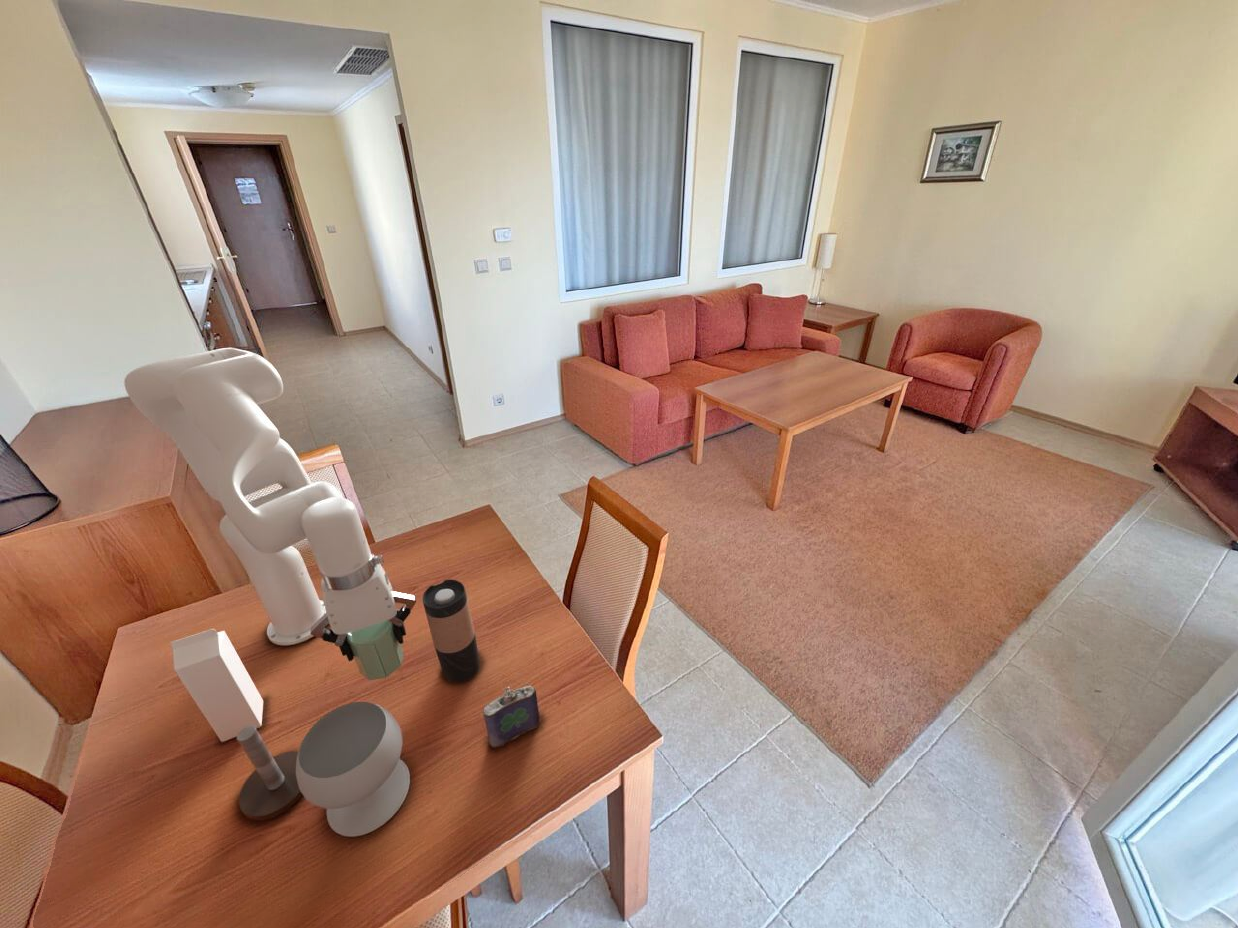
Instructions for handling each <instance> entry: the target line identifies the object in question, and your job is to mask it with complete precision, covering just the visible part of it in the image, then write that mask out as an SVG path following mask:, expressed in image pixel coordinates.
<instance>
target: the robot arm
mask: <svg viewBox="0 0 1238 928" xmlns="http://www.w3.org/2000/svg"><path fill="white" fill-rule="evenodd" d="M123 383H124V388H125V391H126V394H127V395H128V398H129V399H130V400H131V402H132V404H133V405H134V406H135V407H136V408H137V410H138V411H139V412H140V413H141V414H142V415H143V416H144V417H145V418H146V419H148V420H149V422H151V423H152V424H153V425H154V426H156V427H157V428H158V429H159V430H160V431H162V432H163V433H165V434H166V436H167V437H169V438H170V439H171V440H172V441H173V443H174V444H175V445H176V447H177V449H178V450H179V452H180V454H181V455H182V457H183V458H184V461H185V462H186V463H187V465H188V467H189V468H190V469H191V471H192V473H193V475H194V476H195V478H196V479H197V481H198V482H199V484H200V486H201V487H202V489H203V490H204V491H205V493H206V494H207V495H208V496H209V497H210V498H211V499H213V500H214V501H216V502H219V503H220V505H221V507H222V510H223V511H224V513H225V515H224V516H223V517H222V519H220V522H219V529H218V530H219V532H220V535H221V537H222V538H223V540H224V541H225V542H226V544H227V545H228V547H229V548H230V549H231V551H233V553H234V554H235V556H236V557H237V558H238V560H239V562H240V563H241V565H242V567H243V568H244V570H245V572H246V574H247V576H248V578H249V581H250V582H251V584H252V587H253V588H254V590H255V592H256V594H257V597H258V599H259V601H260V603H261V604H262V607H263V608H264V611H265V613H266V615H267V617H268V620H269V624H268V626H267V629H266V635H267V638H268V639H269V641H270V642H271V643H273V644H275V645H278V646H291V645H297V644H300V643H303V642H306V641H308V640H310V639H312V638H313V637H316V638H319V639H321V640H322V641H323V642H328V643H332V644H334V645H335V647H339V650H340V652H341V655H342V656H343V657H344V656H346V658H347V660H348V662H351V661H353V660H355V659H354V656H353V654H352V651H351V649H350V646H349V644H348V641H347V633H350V632H353V631H356V630H360V629H363V628H366V627H369V626H372V625H375V624H378V623H381V622H384V621H387V620H388V621H390V622H391V623H393V624H394V629H395V632H396V636H397V639H398V642H399V644H401V645H403V644H404V643H405V642H404V636H407V630H406V626H405V620H407V618H408V617H409V616H410V614H411V611H412V609H413V608H414V607H415V605H416V602H417V599H416V596H415V595H414V594H409V593H408V594H407V593H402V592H398V591H394V589H393V586H392V584H391V581H390V579H389V577H388V575H387V573H386V571H385V569H384V567H383V566H382V565H381V564H383V563H385V562H384V556H383V554H379V555H377V554H376V555H375V553H372V550H371V549H370V545H369V543H368V539H367V536H366V534H365V530H364V528H363V524H362V521H361V518H360V515H359V512H358V509H357V506H356V504H355V503H354V502H352V500H350V499H348V498H345V497H344V495H343V494H342V492H341V490H340V489H339V488H338V487H337V486H336V485H334V484H332V483H330V482H328V481H325V480H319V481H318V480H317V481H314V482H312V481H311V478H310V477H309V475H308V474H307V473H308V472H307V471H306V470H305V468H304V466H303V464H302V463H301V461H300V459H299V457H298V456H297V454H296V452H295V451H294V449H293V448H292V447H291V446H290V444H289V443H287V441H285V440H284V439H282V438H281V437H280V435H281V434H280V431H279V429H278V428H277V427H276V425H274V423H273V422H272V420H271V419H270V418H269V417H268V416H267V414H266V413H265V412H264V411H263V410H262V408H260V406H259V405H261V404H264V403H268V402H271V401H274V400H277V399H278V398H281V396H282V394H283V392H284V382H283V379H282V378H281V375H280V374H279V372H278V370H277V369H276V368H275V367H274V365H273V364H272V363H271V362H269V361H268V360H267V359H266V358H265V357H263V356H261V355H260V354H257V353H255V352H252V351H248V350H245V349H244V350H243V349H240V348H235V347H223V348H217V349H211V350H207V351H202V352H197V353H193V354H189V355H183V356H178V357H173V358H168V359H164V360H159V361H155V362H150V363H148V364H145V365H142V366H139V367H137V368H135V369H133V370H132V371H130V372H128V374H126V376H125V377H124V381H123ZM275 484H277V485H279V486H280V487H281V488H279V489H276V490H274V491H272V492H270V493H268V494H266V495H262V496H260V497H258V498H255V499H253V500H251V501H248V500H247V498H246V496H250V495H251V494H253V493H256V492H259V491H261V490H263V489H265V488H268V487H271V486H273V485H275ZM305 539H306V540H307V542H308V545H309V548H310V550H311V552H312V554H313V558H314V561H315V562H316V565H317V568H318V570H319V572H320V575H321V578H322V579H321V582H320V589H321V596H322V599H320V598H319V595H318V593H317V590H316V588H315V586H314V583H313V581H312V578H311V576H310V572H309V571H308V568H307V566H306V564H305V561H304V559H303V557H302V555H301V553H300V551H299V550H298V549H297V548H296V547H294V546H293V545H295V544H297V543H299V542H301V541H303V540H305ZM397 603H398V604H403V605H402V606H401V607H400V609H398V608H397ZM328 625H329V626H330V628H326V627H327V626H328Z"/></svg>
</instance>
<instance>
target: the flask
mask: <svg viewBox="0 0 1238 928" xmlns="http://www.w3.org/2000/svg"><path fill="white" fill-rule="evenodd" d="M510 688H511V687H510V686H506V687H504V689H502V690H501V691H502V692H503V695H501V696H499V697H498V698H496V699H494V700H492V701H491V702H490V703H488V704H487V705H485V706H484V708H483V710H482V714H483V719H484V722H485V727H486V732H487V736H488V742H489V745H490V746H491V747H492V748H499V747H503V746H505V744H506V743H508V742H510V741H513V740H515V739H517V738H518V737H519V736H520V735H521V734H523V735H524V734H525V733H526V732H529V731H531V730H533V729H536V728H537V727H538V726H539V724H540V723H541V721H540V712H539V704H538V695H537V690H536V689H535V687H534V686H532V685H525V686H523V687H520V688H516V689H510ZM504 690H505V691H504Z"/></svg>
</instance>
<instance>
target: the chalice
mask: <svg viewBox="0 0 1238 928" xmlns="http://www.w3.org/2000/svg"><path fill="white" fill-rule="evenodd" d="M402 748H403V733H402V729H401V727H400V725H399V722H398V721H397V719H396V718H395V717H394V716H393V715H392V713H390V711H389V710H387V709H386V708H385V707H383V706H381V705H380V704H377V703H375V702H370V701H354V702H350V703H346V704H343V705H340V706H338V707H336V708H334V709H333V710H331V711H329V712H327V713H326V714H325V715H324V716H322V717H321V718H319V719H318V720H317V721H316V722H315V723H314V724H313V725H312V726H311V728H310V729H309V730H308V731H307V733H306V734H305V736H304V738H303V739H302V741H301V743H300V745H299V748H298V751H297V752H298V755H297V760H296V777H297V782H298V786H299V789H300V791H301V793H302V794H303V796H302V797H303V798H304V799H305V800H306V801H307V802H309V803H310V804H312V805H313V806H316V807H318V808H322V809H326V812H325V813H326V819H327V823H328V825H329V827H330V829H331V830H332V831H334V832H335V833H336V834H339V835H341V836H343V837H352V838H353V837H358V836H364V835H366V834H368V833H371V832H374V831H375V830H377V829H379V828H380V827H382V826H383V825H385V824H386V823H387V822H388V821H389V820H390V819H391V818H393V816H394V815H395V814H396V813H397V812H398V811H399V810H400V808H401V806H402V805H403V803H404V801H405V800H406V797H407V795H408V793H409V788H410V783H411V775H410V770H409V767H408V766H407V764H406V763H405V761H404V760H402V759H401V755H402V754H401V753H402Z"/></svg>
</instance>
